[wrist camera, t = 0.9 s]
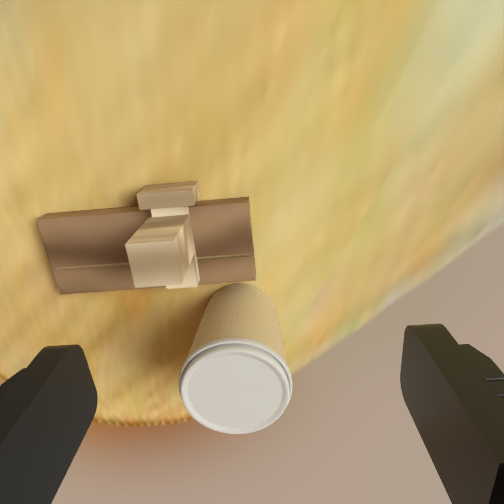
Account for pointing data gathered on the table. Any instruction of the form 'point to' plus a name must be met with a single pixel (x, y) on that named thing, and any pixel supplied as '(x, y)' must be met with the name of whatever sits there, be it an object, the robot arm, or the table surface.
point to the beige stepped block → (165, 238)
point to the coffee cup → (237, 363)
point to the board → (124, 227)
